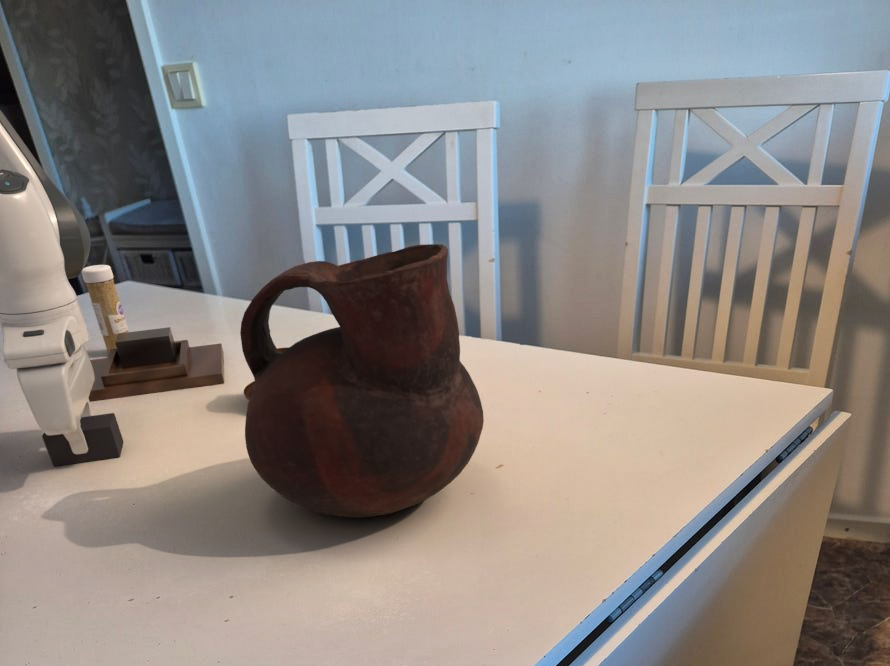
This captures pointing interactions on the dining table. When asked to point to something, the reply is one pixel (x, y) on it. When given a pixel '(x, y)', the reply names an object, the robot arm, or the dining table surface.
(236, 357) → the dining table surface
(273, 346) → the jug
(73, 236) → the robot arm
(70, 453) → the pad
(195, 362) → the brown stepped wooden stand
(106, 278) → the sprinkles bottle
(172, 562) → the dining table surface
